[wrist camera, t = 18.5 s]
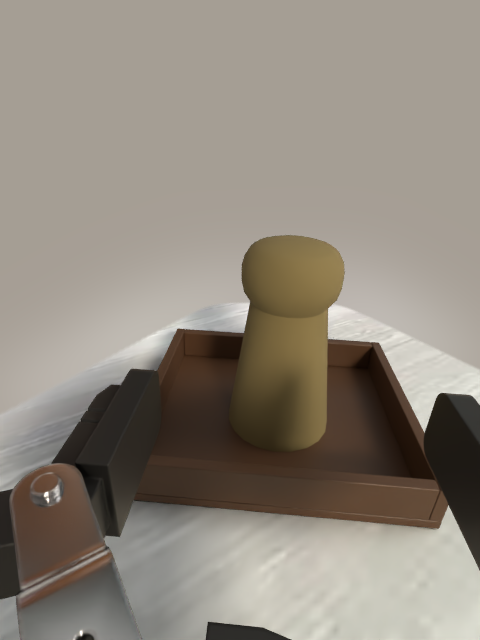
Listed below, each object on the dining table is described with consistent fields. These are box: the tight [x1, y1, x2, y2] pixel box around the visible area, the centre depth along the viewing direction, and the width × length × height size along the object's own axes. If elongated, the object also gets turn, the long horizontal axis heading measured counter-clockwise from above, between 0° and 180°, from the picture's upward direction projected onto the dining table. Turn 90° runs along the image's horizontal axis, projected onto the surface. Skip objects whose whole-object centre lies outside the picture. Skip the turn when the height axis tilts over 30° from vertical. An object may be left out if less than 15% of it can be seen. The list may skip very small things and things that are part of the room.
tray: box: [134, 329, 448, 528], centre depth 23 cm, size 15×13×2 cm
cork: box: [229, 235, 345, 452], centre depth 21 cm, size 6×6×11 cm
